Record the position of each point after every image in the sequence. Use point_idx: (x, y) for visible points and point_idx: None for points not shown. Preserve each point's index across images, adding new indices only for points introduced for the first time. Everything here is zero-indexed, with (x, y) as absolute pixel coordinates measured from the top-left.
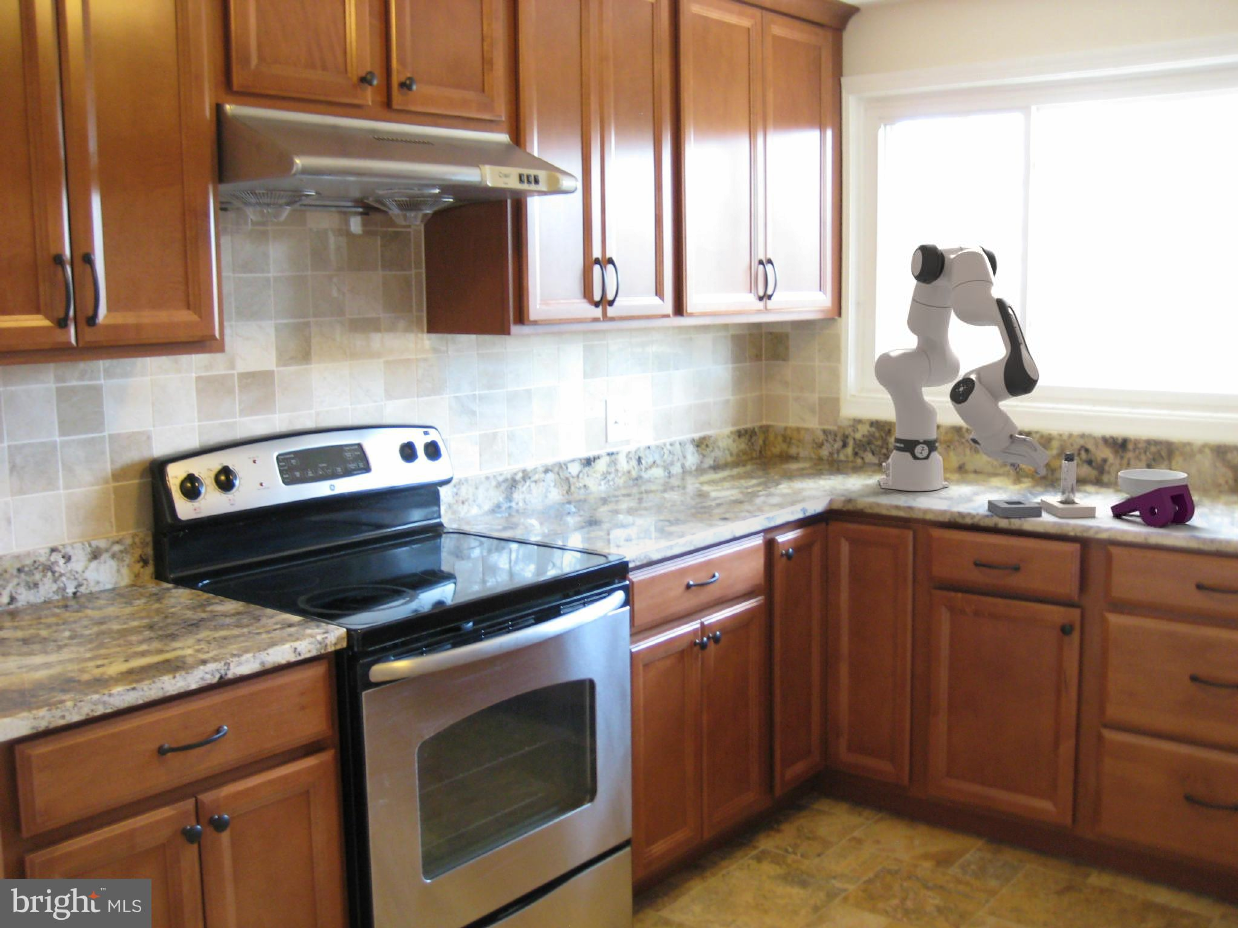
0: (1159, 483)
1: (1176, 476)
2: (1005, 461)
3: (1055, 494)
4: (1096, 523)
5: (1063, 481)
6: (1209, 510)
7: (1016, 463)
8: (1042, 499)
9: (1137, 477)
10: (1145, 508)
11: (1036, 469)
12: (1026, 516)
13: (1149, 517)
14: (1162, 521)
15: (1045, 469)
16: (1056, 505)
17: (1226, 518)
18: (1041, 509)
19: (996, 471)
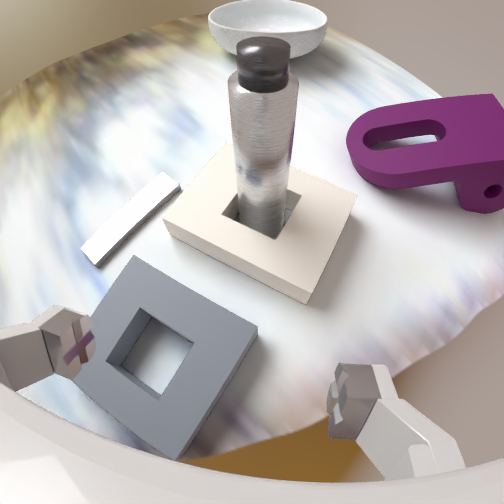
0: (317, 34)
1: (276, 6)
2: (17, 381)
3: (115, 107)
4: (418, 282)
5: (261, 172)
6: (376, 63)
7: (72, 339)
8: (173, 222)
9: (221, 19)
10: (480, 186)
11: (382, 467)
12: (229, 381)
13: (479, 200)
14: (500, 206)
15: (388, 372)
16: (277, 271)
17: (434, 92)
18: (256, 330)
19: (5, 94)
